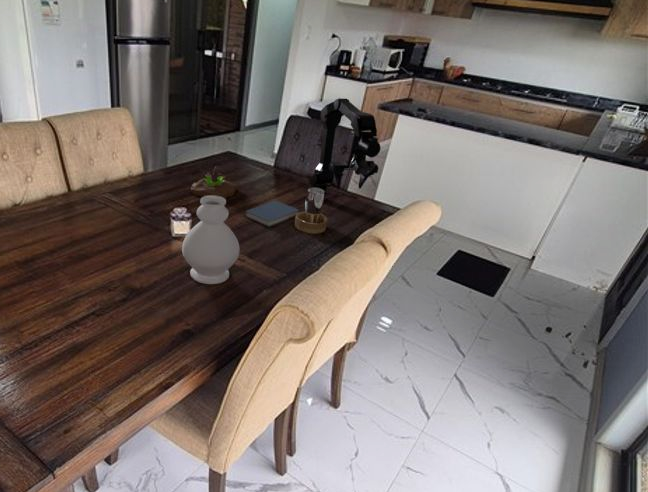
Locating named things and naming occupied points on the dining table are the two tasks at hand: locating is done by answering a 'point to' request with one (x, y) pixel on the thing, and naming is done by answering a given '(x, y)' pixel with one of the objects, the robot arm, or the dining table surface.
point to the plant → (214, 186)
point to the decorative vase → (211, 243)
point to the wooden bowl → (310, 224)
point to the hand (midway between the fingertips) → (348, 188)
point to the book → (271, 213)
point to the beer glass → (313, 204)
